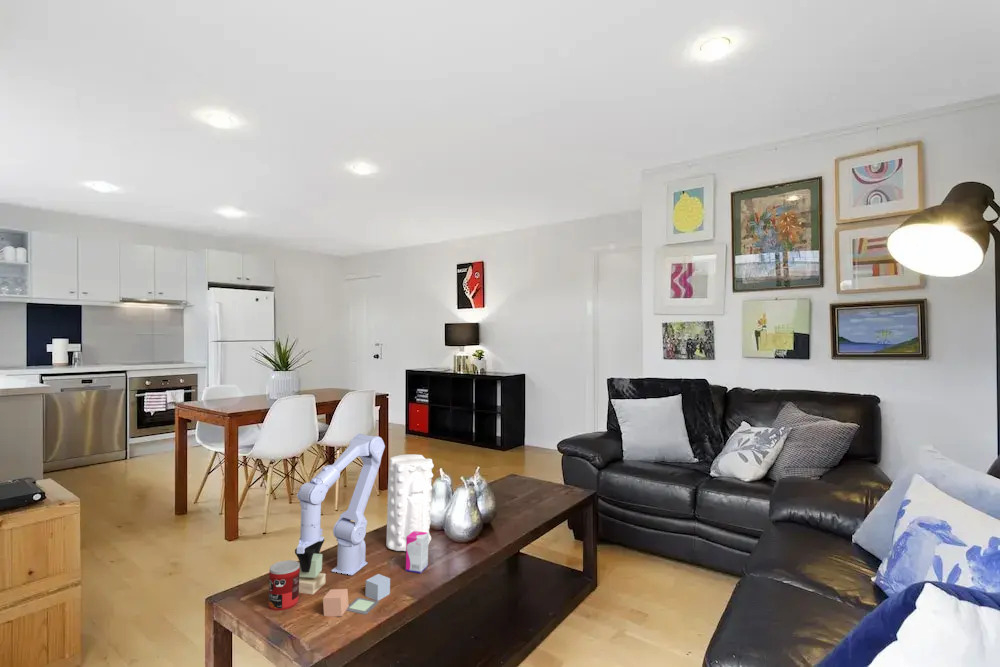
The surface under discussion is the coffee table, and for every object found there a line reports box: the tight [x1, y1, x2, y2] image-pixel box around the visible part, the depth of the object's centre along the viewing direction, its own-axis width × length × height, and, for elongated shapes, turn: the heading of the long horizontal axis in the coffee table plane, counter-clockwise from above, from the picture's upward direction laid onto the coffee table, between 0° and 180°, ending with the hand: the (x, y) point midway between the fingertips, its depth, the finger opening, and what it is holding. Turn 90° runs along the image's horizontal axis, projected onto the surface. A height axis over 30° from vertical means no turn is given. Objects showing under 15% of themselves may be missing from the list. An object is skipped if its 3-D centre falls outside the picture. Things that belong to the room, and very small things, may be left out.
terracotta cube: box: [322, 588, 350, 617], centre depth 141 cm, size 5×5×5 cm
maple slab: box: [299, 572, 327, 595], centre depth 154 cm, size 7×7×4 cm
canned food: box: [268, 559, 300, 611], centre depth 145 cm, size 8×8×11 cm
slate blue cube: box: [364, 573, 391, 602], centre depth 151 cm, size 5×5×5 cm
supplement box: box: [405, 531, 430, 574], centre depth 169 cm, size 6×6×12 cm
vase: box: [385, 453, 435, 552], centre depth 189 cm, size 17×16×32 cm
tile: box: [345, 597, 380, 616], centre depth 144 cm, size 7×7×1 cm
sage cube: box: [299, 553, 323, 578], centre depth 154 cm, size 5×5×5 cm
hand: (309, 567), depth 154 cm, fingers closed on sage cube, 5 cm apart
